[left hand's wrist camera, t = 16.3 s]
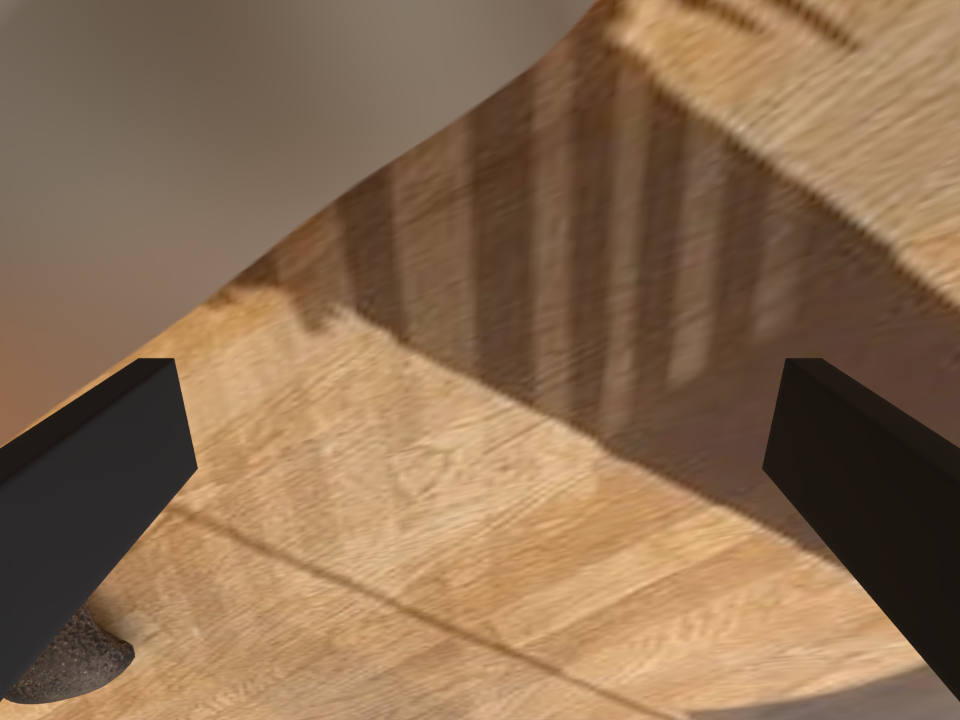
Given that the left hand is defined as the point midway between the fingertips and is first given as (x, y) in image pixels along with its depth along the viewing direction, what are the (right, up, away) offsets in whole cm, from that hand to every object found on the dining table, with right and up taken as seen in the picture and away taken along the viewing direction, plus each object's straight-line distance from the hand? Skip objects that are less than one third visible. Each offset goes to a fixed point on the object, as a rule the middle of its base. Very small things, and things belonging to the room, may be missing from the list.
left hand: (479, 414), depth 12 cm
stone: (-36, -23, +39) cm, 58 cm away
